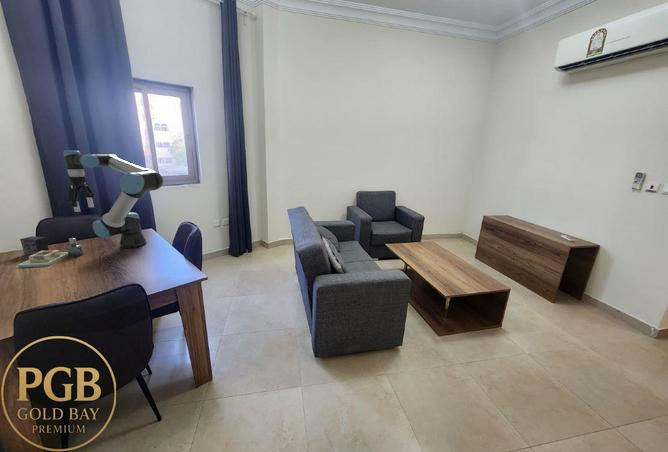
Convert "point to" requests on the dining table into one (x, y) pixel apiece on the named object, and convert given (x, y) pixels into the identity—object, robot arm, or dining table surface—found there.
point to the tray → (28, 264)
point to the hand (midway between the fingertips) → (84, 209)
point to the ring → (44, 256)
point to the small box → (34, 245)
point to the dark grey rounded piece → (74, 248)
